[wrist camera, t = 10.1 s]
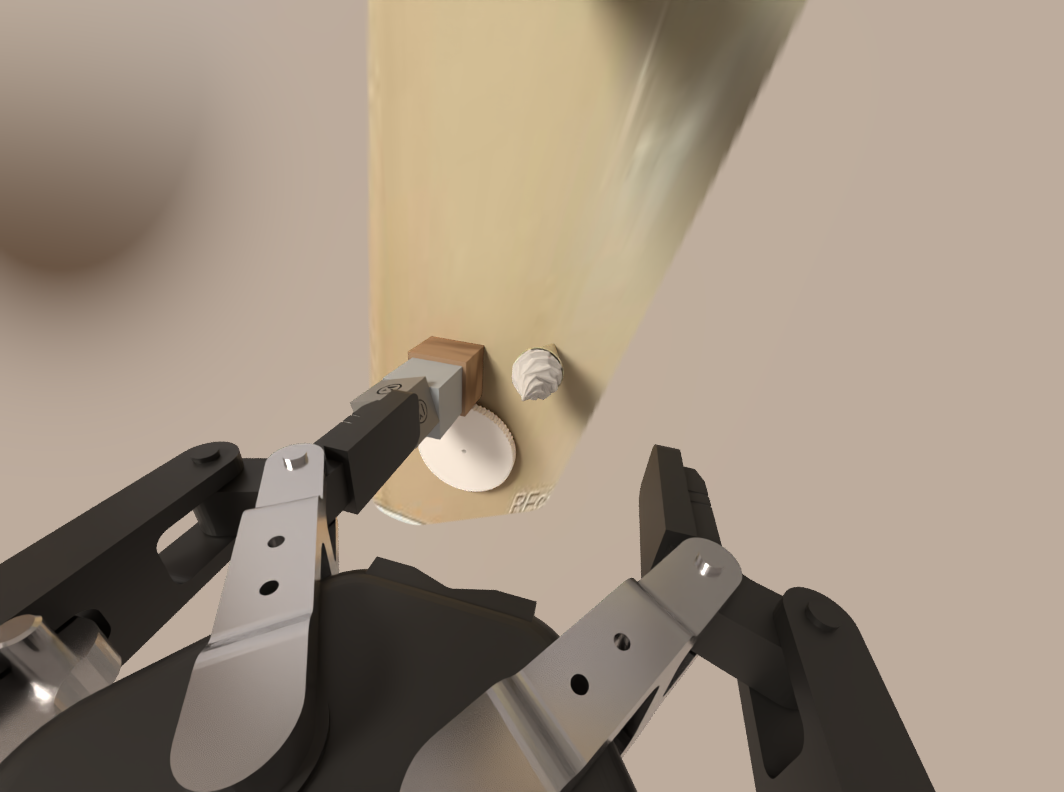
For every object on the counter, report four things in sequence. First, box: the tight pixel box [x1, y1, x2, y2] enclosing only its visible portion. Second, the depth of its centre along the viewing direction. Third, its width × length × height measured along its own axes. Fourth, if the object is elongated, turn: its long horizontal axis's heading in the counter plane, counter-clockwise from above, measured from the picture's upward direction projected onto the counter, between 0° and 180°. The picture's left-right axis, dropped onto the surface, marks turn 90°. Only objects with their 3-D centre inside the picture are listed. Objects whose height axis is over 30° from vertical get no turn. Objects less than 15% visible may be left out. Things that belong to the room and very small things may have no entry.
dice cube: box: [350, 376, 440, 448], centre depth 36 cm, size 5×5×5 cm
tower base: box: [408, 336, 484, 417], centre depth 47 cm, size 7×7×6 cm
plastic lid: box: [418, 404, 516, 492], centre depth 53 cm, size 14×14×2 cm
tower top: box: [383, 357, 462, 440], centre depth 41 cm, size 6×6×6 cm
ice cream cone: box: [512, 344, 564, 401], centre depth 39 cm, size 5×5×15 cm
